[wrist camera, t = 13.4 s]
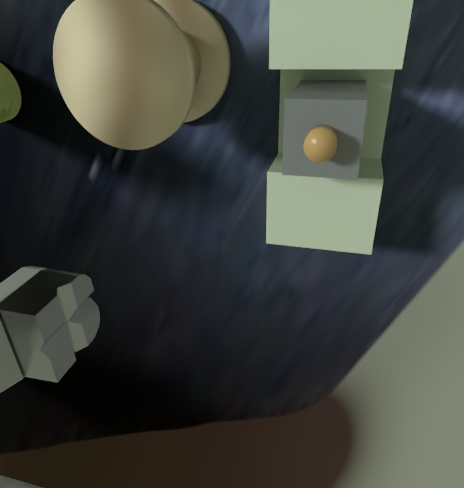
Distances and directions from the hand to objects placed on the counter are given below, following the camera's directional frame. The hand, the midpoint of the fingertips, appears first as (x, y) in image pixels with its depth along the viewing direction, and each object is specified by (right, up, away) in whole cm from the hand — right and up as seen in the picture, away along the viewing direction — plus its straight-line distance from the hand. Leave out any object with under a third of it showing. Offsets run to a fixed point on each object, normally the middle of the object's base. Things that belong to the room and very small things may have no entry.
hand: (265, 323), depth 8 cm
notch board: (+6, +11, +19) cm, 22 cm away
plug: (+6, +10, +18) cm, 22 cm away
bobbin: (-5, +14, +20) cm, 25 cm away
